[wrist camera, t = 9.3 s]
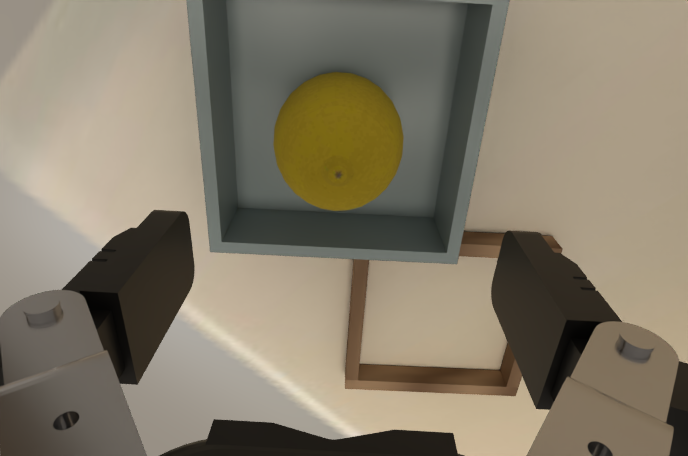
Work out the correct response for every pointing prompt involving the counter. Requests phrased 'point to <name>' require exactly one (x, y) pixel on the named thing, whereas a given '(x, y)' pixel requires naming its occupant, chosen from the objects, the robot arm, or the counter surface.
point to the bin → (363, 60)
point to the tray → (429, 377)
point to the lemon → (338, 141)
